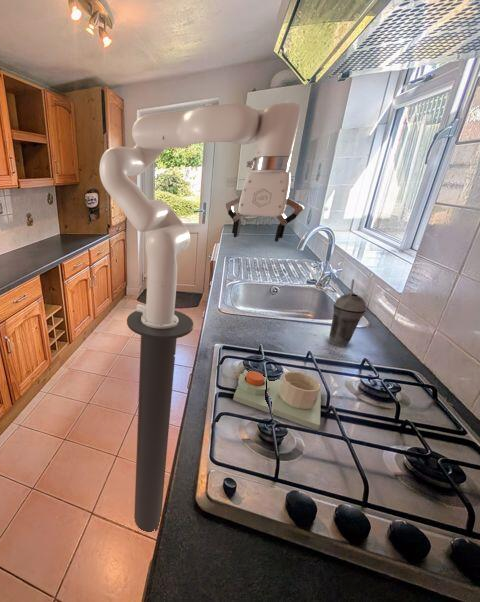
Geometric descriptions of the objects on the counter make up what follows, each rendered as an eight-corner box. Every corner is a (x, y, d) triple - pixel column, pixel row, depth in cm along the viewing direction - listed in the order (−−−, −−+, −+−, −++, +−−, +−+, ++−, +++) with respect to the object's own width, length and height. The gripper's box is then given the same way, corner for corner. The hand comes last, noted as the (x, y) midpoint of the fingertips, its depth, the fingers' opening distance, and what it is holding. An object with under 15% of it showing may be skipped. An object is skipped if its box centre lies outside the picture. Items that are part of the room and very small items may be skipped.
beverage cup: (359, 349, 87) (382, 284, 79) (331, 348, 88) (351, 283, 80) (344, 337, 93) (364, 276, 86) (318, 336, 94) (336, 275, 87)
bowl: (276, 402, 65) (281, 383, 64) (280, 385, 71) (284, 368, 69) (314, 415, 62) (320, 395, 60) (315, 396, 67) (320, 378, 65)
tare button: (244, 383, 70) (245, 376, 69) (247, 375, 73) (248, 369, 72) (261, 388, 68) (262, 382, 67) (264, 380, 71) (265, 374, 70)
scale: (231, 399, 69) (233, 389, 67) (243, 373, 78) (244, 363, 76) (318, 430, 60) (322, 419, 59) (319, 397, 69) (322, 386, 68)
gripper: (227, 166, 73) (217, 237, 79) (313, 164, 63) (293, 245, 70) (235, 166, 78) (225, 233, 85) (315, 165, 69) (296, 240, 75)
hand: (255, 238), depth 77 cm, fingers open, 9 cm apart
